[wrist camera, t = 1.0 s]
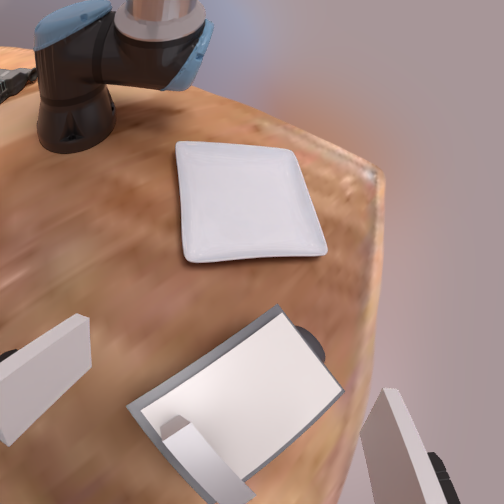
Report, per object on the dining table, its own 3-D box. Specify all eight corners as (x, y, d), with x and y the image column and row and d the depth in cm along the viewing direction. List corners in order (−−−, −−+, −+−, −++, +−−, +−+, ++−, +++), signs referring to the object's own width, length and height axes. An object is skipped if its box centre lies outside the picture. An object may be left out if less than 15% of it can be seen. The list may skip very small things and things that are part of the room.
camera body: (264, 315, 40) (293, 291, 32) (318, 385, 38) (359, 377, 30) (132, 404, 30) (125, 406, 22) (196, 482, 27) (210, 506, 20)
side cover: (278, 315, 30) (329, 276, 22) (336, 390, 28) (404, 378, 20) (141, 410, 22) (132, 416, 14) (213, 494, 20) (245, 537, 12)
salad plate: (321, 263, 47) (332, 253, 44) (182, 272, 40) (185, 261, 37) (286, 160, 56) (294, 148, 53) (171, 154, 48) (174, 140, 45)
